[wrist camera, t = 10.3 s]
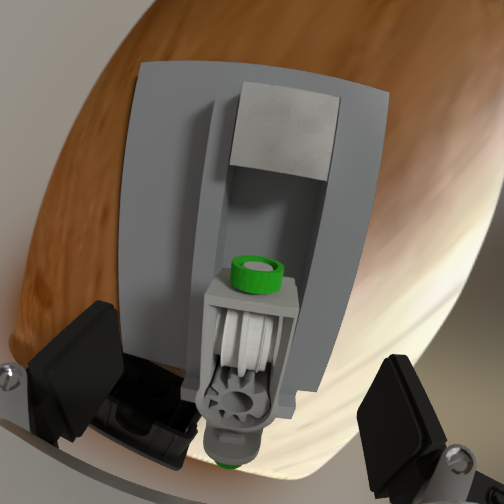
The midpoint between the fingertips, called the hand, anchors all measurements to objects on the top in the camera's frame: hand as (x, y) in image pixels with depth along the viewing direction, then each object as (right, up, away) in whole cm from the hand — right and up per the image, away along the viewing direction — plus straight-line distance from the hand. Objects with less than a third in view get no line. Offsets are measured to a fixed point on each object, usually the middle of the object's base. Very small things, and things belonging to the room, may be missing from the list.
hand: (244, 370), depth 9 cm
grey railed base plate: (-1, +5, +10) cm, 11 cm away
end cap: (-9, -9, +15) cm, 20 cm away
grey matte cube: (+2, +10, +7) cm, 13 cm away
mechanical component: (+1, +1, +10) cm, 10 cm away
